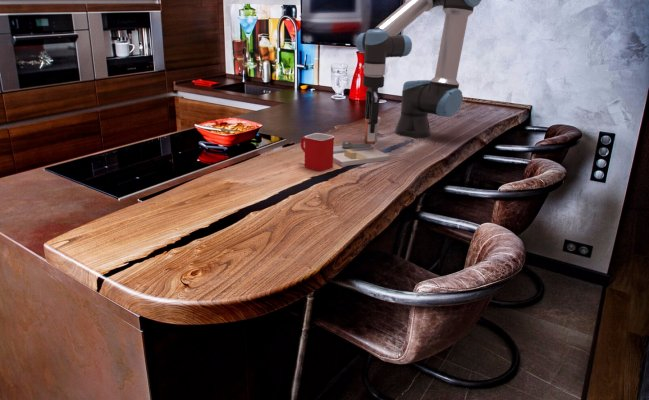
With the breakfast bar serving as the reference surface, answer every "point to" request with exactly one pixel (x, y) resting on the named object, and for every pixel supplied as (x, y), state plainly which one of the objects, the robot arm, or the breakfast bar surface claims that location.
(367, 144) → the latch bar
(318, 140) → the mug
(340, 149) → the jamb strip
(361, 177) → the breakfast bar surface
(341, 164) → the door panel
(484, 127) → the breakfast bar surface
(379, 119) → the smoothie
